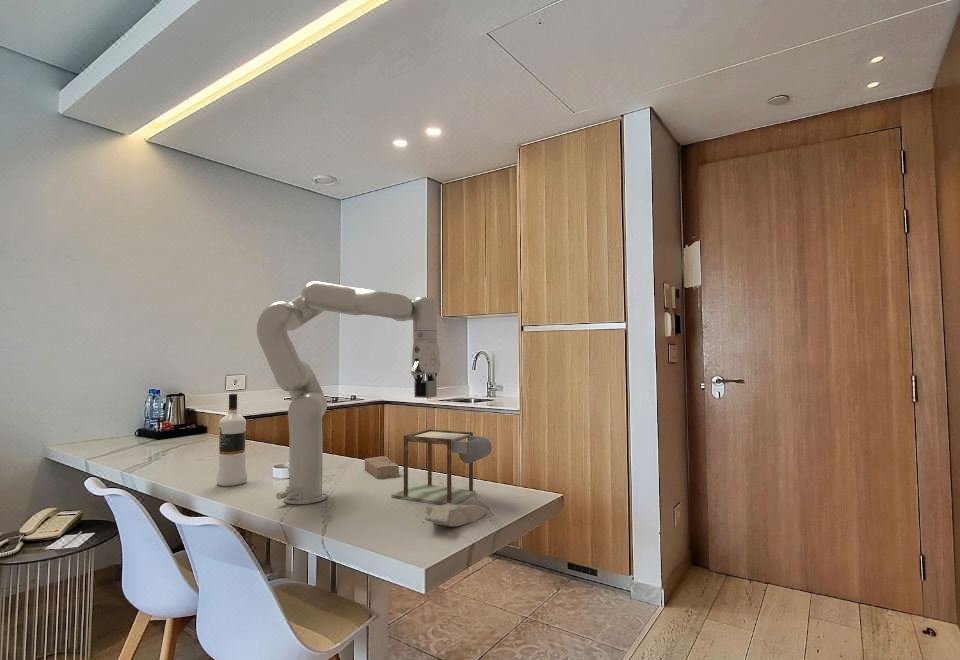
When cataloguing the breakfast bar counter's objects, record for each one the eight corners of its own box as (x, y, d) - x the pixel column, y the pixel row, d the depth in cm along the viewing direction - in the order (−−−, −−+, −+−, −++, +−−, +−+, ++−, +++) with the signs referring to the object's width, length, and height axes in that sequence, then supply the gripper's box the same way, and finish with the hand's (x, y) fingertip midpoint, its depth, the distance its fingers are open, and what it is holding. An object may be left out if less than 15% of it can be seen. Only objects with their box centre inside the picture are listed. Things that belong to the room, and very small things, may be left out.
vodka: (248, 484, 175) (249, 394, 176) (216, 488, 171) (218, 395, 172) (245, 478, 184) (246, 392, 185) (216, 482, 179) (217, 393, 180)
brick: (400, 477, 186) (400, 463, 187) (376, 480, 182) (376, 466, 183) (385, 468, 201) (385, 455, 201) (363, 470, 197) (363, 457, 197)
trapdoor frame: (475, 493, 164) (475, 432, 165) (451, 506, 151) (451, 439, 151) (418, 485, 173) (418, 428, 174) (391, 497, 160) (391, 434, 161)
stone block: (428, 397, 161) (428, 381, 161) (414, 397, 163) (414, 381, 164) (436, 396, 166) (436, 380, 166) (423, 395, 168) (422, 380, 168)
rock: (399, 528, 134) (443, 534, 125) (398, 509, 134) (443, 514, 126) (452, 513, 151) (495, 518, 142) (452, 497, 151) (494, 500, 143)
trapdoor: (493, 457, 160) (493, 435, 160) (475, 465, 149) (475, 441, 150) (430, 451, 170) (430, 430, 170) (409, 458, 159) (409, 436, 159)
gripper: (421, 336, 156) (421, 398, 155) (448, 337, 171) (449, 393, 171) (399, 336, 159) (400, 397, 158) (429, 337, 174) (429, 392, 174)
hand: (425, 394), depth 165 cm, fingers closed on stone block, 5 cm apart
